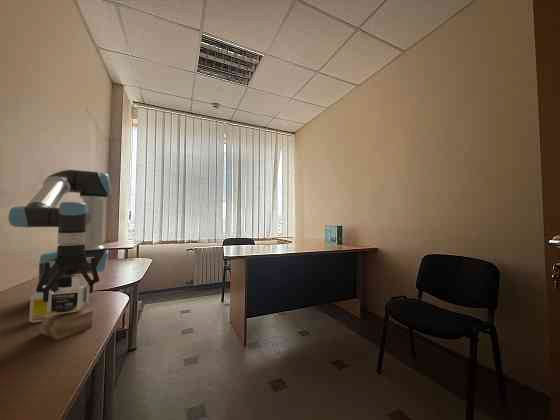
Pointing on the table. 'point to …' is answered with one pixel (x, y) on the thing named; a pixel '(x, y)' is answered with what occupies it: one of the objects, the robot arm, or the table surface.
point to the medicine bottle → (68, 295)
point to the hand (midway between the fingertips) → (68, 306)
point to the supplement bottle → (38, 307)
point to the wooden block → (66, 323)
